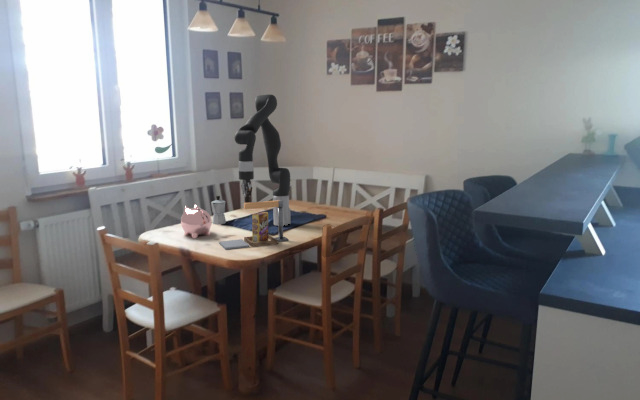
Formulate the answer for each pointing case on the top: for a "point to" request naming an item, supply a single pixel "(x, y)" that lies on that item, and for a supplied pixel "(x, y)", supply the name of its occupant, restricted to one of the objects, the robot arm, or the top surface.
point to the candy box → (260, 227)
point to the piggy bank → (196, 221)
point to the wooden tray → (261, 243)
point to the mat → (233, 244)
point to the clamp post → (280, 226)
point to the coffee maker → (218, 211)
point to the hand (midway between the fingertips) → (247, 203)
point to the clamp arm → (263, 204)
